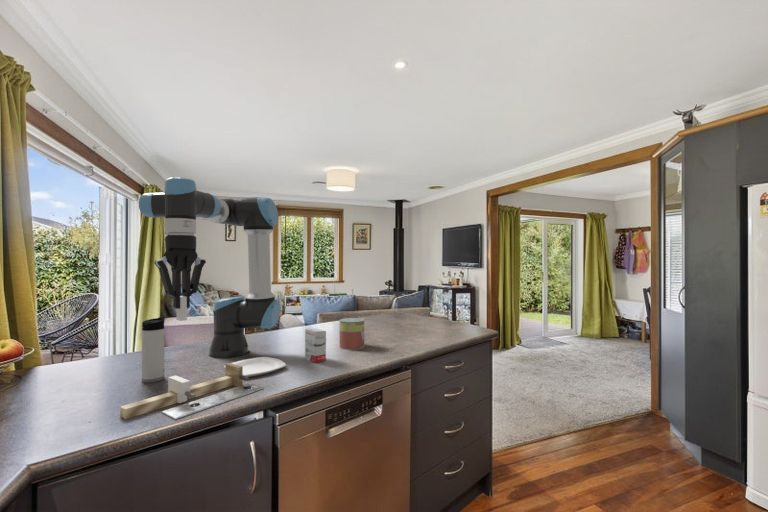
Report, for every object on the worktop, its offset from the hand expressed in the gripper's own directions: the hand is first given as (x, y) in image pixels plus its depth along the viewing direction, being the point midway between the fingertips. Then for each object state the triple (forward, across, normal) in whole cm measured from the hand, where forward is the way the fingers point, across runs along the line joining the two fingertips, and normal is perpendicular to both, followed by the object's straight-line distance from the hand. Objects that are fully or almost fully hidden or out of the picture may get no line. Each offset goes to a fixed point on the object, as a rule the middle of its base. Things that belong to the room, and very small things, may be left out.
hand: (181, 319), depth 101 cm
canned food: (+24, +75, +3) cm, 79 cm away
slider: (+22, 0, -1) cm, 23 cm away
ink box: (+24, +51, +1) cm, 56 cm away
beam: (+23, +2, -1) cm, 23 cm away
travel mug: (+23, +3, +27) cm, 36 cm away
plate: (+24, +30, +9) cm, 39 cm away
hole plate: (+23, +6, -6) cm, 25 cm away
